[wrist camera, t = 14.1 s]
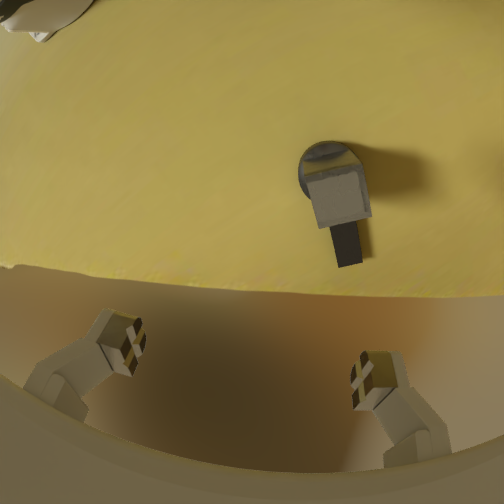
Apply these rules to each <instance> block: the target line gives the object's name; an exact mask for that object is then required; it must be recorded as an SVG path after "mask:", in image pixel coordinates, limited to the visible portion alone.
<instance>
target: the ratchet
mask: <svg viewBox="0 0 504 504" xmlns="http://www.w3.org/2000/svg"><path fill="white" fill-rule="evenodd" d="M347 149H349V148H348V147H347V146H345V145H344V144H342V143H339V142H335V141H322V142H319V143H316V144H314V145H312V146H311V147H309V148H308V149H307V150H306V151H305V152H304V154H303V155H302V157H301V159H300V162H299V167H298V176H299V183H300V186H301V188H302V190H303V192H304V193H305V195H306V196H307V197H308V198H309V199H310V200H311V198H310V194H309V191H308V187H307V184H306V180H305V177H304V169H303V161H302V160H306V159H309V158H313V157H317V156H322V155H326V154H330V153H334V152H339V151H343V150H347ZM349 150H350V151H351V152H352V153H353V151H352V150H351V149H349ZM353 154H354V153H353ZM354 155H355V154H354ZM355 156H356V155H355ZM356 157H357V156H356ZM357 158H358V157H357ZM359 161H360V160H359ZM329 227H330V231H331V236H332V240H333V244H334V249H335V253H336V258H337V263H338V267H339V268H340V267H345V266H349V265H353V264H358V263H362V262H363V261H362V254H361V248H360V242H359V236H358V230H357V225H356V221H351V222H347V223H343V224H338V225H334V226H329Z"/></svg>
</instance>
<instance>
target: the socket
mask: <svg viewBox="0 0 504 504" xmlns="http://www.w3.org/2000/svg"><path fill="white" fill-rule="evenodd" d="M302 161H303V169H304V177H305V180H306V184H307V187H308V191H309V194H310V198H311V201H312V205H313V209H314V212H315V216H316V220H317V224H318V227H319V229H321V228H325V227H329V226H334V225H338V224H343V223H347V222H351V221H356V220H360V219H364V218H369V217H372V213H371V207H370V201H369V196H368V190H367V185H366V180H365V175H364V170H363V165H362V163H361V162H360V161H359V159H358V158H357V157H356V156H355V155H354V154H353V153H352V152H351V151H350V150H349V149H347V150H343V151H339V152H334V153H330V154H326V155H322V156H317V157H313V158H309V159H306V160H302Z"/></svg>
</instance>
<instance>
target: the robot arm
mask: <svg viewBox="0 0 504 504" xmlns="http://www.w3.org/2000/svg"><path fill="white" fill-rule="evenodd" d="M92 1H93V0H0V23H1V22H2V23H1V25H2V26H4V27H5V28H6V30H8V32H28V33H29V34H30V35H31V36H32V37H33V38H34V39H35V40H36V41H37V42H42V43H43V42H45V41H46V40H47V39H48V38H50V36H51V35H52V34H53V33H54V32H56V31H57V30H59V29H61V28H63V27H65V26H67V25H68V24H70V23H71V22H73V21H74V20H75V19H77V18H78V17H79V16H80V15H81V14H82V13H83V12H84V11H85V10H86V9H87V8H88V6H89V5H90V4H91V3H92ZM142 324H143V323H142V320H141V318H139V317H136V316H132V315H128V314H125V313H121V312H118V311H115V310H111V309H108V308H105V309H103V310H102V311H101V313H100V314H99V316H98V317H97V319H96V320H95V322H94V324H93V325H92V327H91V328H90V330H89V332H88V333H87V335H86V337H85V338H80V339H78V340H77V341H75V342H73V343H71V344H69V345H68V346H66V347H64V348H62V349H61V350H59V351H57V352H56V353H54V354H52V355H50V356H48V357H47V358H45V359H44V360H41V361H40V362H38V363H37V364H36V366H35V368H34V369H33V371H32V373H31V374H30V376H29V378H28V380H27V381H26V383H25V385H24V387H23V389H22V388H21V387H19V386H18V385H16V384H15V383H13V382H12V381H10V380H9V379H8V378H6V377H5V376H3V375H2V374H1V373H0V504H504V435H502V436H499V437H497V438H494V439H492V440H489V441H487V442H484V443H482V444H479V445H476V446H474V447H471V448H468V449H465V450H462V451H458V452H455V453H452V451H451V445H450V440H449V434H448V429H447V425H446V423H445V422H444V421H443V420H442V419H441V418H440V417H439V416H438V414H437V413H436V412H435V411H434V410H433V409H432V408H431V406H430V405H429V404H428V403H427V402H426V401H425V400H424V398H423V397H422V396H421V395H420V394H419V393H418V392H417V391H416V390H415V388H414V387H410V384H409V380H408V376H407V372H406V368H405V364H404V360H403V357H402V354H401V352H398V351H369V350H368V351H367V350H365V351H363V352H362V353H361V355H360V360H359V361H358V362H356V363H355V364H354V366H353V367H352V370H351V374H350V383H351V386H352V387H353V389H354V390H355V391H354V393H353V394H352V404H353V410H373V413H374V414H375V416H376V418H377V419H378V421H379V422H380V424H381V425H382V427H383V428H384V430H385V432H386V433H387V435H388V436H389V438H390V439H391V441H392V442H393V444H394V445H395V446H394V447H392V448H390V449H389V450H387V451H386V452H385V453H384V454H383V461H384V468H383V469H375V470H366V471H356V472H342V473H281V472H266V471H257V470H247V469H240V468H233V467H226V466H220V465H215V464H209V463H204V462H199V461H194V460H190V459H186V458H182V457H178V456H174V455H170V454H166V453H163V452H160V451H156V450H153V449H150V448H147V447H143V446H141V445H138V444H135V443H132V442H129V441H126V440H123V439H121V438H118V437H116V436H113V435H111V434H108V433H106V432H103V431H101V430H98V429H96V428H94V427H92V426H89V425H87V424H85V423H84V421H85V418H86V416H87V413H88V411H89V408H88V406H87V405H86V404H85V403H84V402H83V400H82V399H81V398H82V396H84V395H85V394H87V393H88V392H89V391H91V390H92V389H93V388H94V387H96V386H97V385H98V384H99V383H101V382H102V381H103V380H104V379H106V378H107V377H108V376H109V375H111V374H112V373H113V371H114V372H117V373H120V374H123V375H127V376H130V377H132V376H133V374H134V372H135V370H136V367H137V365H138V361H137V357H139V356H140V355H142V353H143V351H144V349H145V345H146V334H145V331H144V330H143V329H142V328H141V327H142Z"/></svg>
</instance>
